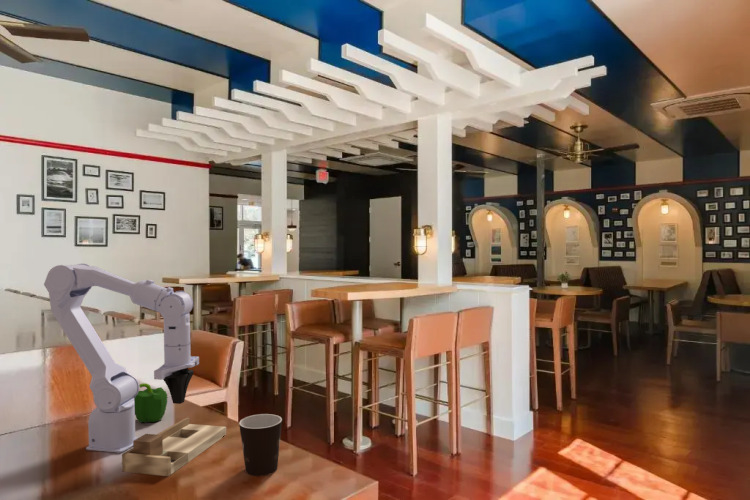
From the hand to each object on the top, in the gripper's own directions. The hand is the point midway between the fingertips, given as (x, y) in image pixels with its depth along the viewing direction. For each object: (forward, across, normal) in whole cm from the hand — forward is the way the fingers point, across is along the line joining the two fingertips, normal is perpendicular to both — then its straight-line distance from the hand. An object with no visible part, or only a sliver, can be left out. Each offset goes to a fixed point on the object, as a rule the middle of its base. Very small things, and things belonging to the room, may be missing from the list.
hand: (178, 402), depth 120 cm
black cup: (+10, -6, -24) cm, 27 cm away
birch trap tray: (+10, -3, -2) cm, 11 cm away
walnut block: (+8, -11, 0) cm, 14 cm away
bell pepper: (+10, +14, +18) cm, 25 cm away
